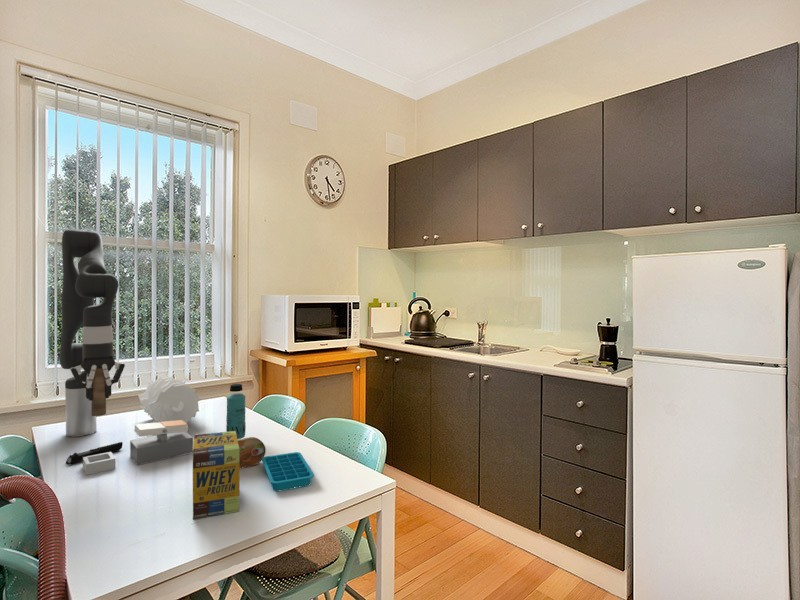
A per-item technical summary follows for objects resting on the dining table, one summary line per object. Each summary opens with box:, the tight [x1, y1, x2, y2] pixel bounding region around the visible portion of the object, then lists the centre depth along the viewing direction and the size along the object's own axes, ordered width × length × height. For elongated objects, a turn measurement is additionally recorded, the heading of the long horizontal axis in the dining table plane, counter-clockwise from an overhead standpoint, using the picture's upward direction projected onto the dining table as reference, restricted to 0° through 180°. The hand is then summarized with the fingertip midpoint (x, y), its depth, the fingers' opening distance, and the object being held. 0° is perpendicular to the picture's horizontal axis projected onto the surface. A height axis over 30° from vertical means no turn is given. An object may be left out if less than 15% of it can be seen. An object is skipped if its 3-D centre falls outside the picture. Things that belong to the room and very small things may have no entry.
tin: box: [237, 436, 266, 469], centre depth 135 cm, size 15×3×8 cm, turn 117°
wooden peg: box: [91, 368, 107, 417], centre depth 133 cm, size 4×4×14 cm
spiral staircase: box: [137, 376, 201, 425], centre depth 178 cm, size 18×18×25 cm
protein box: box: [192, 431, 240, 520], centre depth 113 cm, size 10×15×16 cm
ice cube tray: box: [261, 451, 315, 492], centre depth 129 cm, size 12×20×3 cm, turn 24°
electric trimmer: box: [65, 441, 124, 466], centre depth 143 cm, size 4×16×3 cm, turn 146°
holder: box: [82, 452, 116, 476], centre depth 134 cm, size 7×7×3 cm
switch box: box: [129, 431, 194, 466], centre depth 145 cm, size 10×16×7 cm, turn 131°
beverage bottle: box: [225, 383, 247, 439], centre depth 157 cm, size 6×7×20 cm
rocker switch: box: [134, 420, 189, 437], centre depth 145 cm, size 8×14×2 cm, turn 131°
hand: (98, 398), depth 133 cm, fingers closed on wooden peg, 3 cm apart
